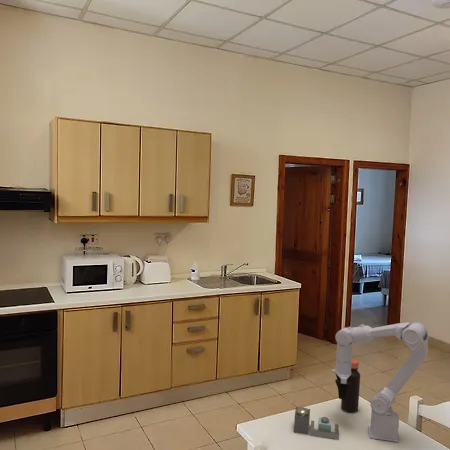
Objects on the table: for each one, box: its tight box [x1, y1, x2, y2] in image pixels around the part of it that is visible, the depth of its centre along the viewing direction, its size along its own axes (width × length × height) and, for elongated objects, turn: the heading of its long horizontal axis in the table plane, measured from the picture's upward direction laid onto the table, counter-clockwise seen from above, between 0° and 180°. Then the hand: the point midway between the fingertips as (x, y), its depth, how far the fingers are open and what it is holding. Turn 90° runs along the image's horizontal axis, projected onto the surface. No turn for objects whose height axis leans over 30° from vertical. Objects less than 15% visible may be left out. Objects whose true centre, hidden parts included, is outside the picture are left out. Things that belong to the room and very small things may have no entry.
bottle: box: [340, 358, 361, 414], centre depth 181 cm, size 7×7×20 cm
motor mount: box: [293, 406, 340, 441], centre depth 163 cm, size 16×8×7 cm, turn 78°
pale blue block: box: [317, 416, 332, 432], centre depth 163 cm, size 4×4×5 cm
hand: (341, 394), depth 171 cm, fingers open, 7 cm apart
